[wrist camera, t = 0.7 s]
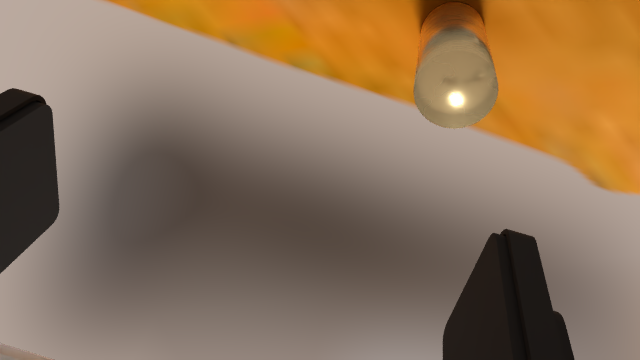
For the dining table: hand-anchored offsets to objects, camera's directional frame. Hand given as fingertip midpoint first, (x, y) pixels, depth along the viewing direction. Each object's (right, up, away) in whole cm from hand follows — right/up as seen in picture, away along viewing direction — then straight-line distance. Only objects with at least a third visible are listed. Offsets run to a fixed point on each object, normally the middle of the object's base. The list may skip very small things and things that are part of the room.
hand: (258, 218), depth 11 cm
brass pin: (+9, +9, +20) cm, 24 cm away
